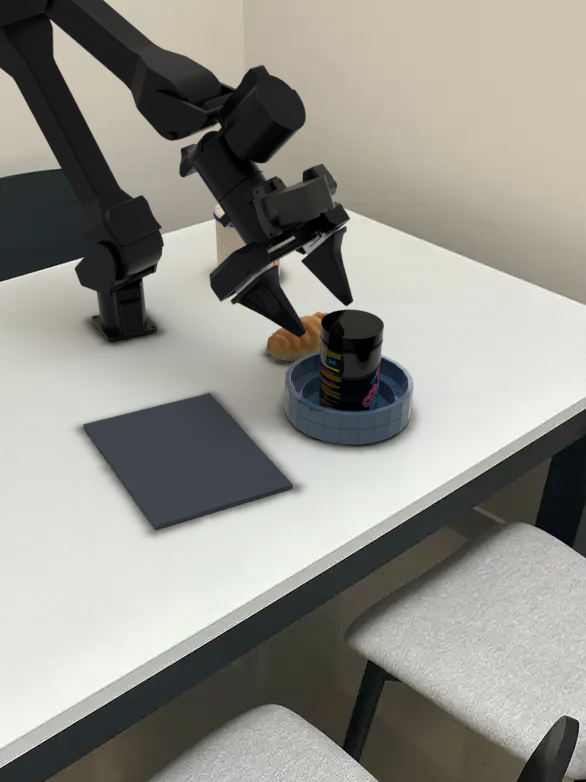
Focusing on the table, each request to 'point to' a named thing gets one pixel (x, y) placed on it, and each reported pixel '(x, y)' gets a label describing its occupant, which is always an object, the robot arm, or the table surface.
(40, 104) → the robot arm
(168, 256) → the table surface
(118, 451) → the placemat
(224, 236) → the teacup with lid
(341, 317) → the supplement container
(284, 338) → the pastry
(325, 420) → the bowl
